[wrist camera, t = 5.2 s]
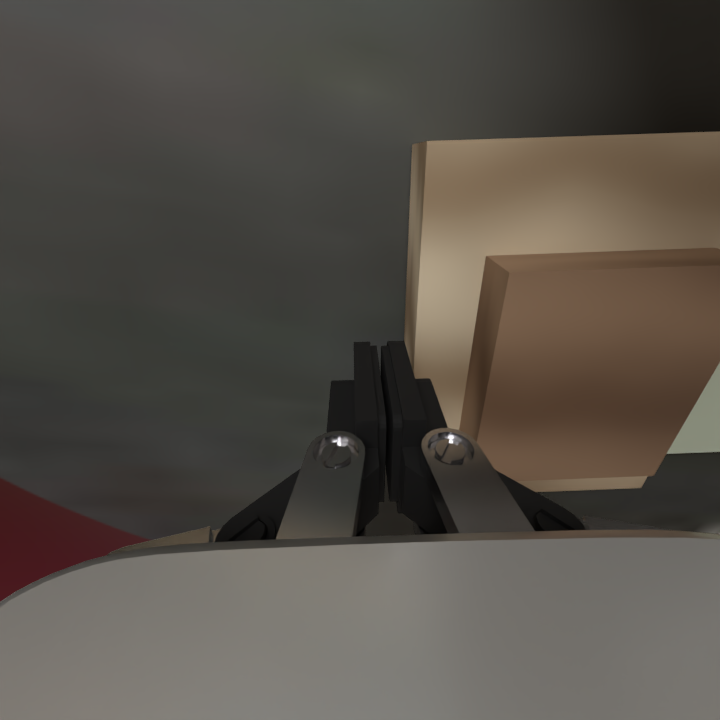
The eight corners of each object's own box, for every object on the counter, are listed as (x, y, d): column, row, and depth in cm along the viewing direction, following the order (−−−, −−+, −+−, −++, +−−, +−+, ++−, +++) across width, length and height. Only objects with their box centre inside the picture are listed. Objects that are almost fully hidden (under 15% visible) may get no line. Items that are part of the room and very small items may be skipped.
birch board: (412, 144, 11) (426, 141, 9) (750, 133, 11) (846, 127, 9) (399, 456, 18) (405, 497, 16) (606, 448, 18) (640, 487, 16)
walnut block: (485, 255, 10) (509, 272, 9) (714, 247, 11) (777, 263, 9) (456, 448, 15) (468, 483, 13) (621, 442, 15) (653, 475, 13)
